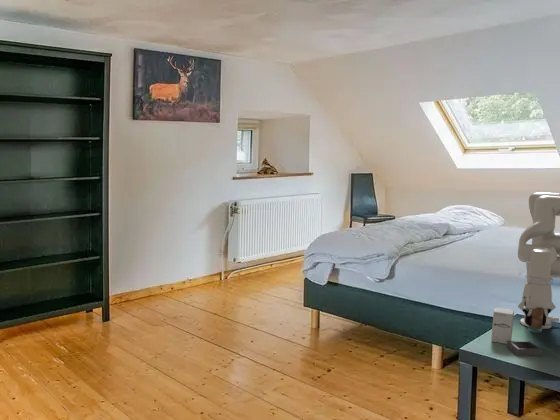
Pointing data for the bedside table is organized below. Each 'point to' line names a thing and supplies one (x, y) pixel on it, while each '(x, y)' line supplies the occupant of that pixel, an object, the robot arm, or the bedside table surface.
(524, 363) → the bedside table surface
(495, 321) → the supplement box
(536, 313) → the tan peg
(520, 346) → the socket
